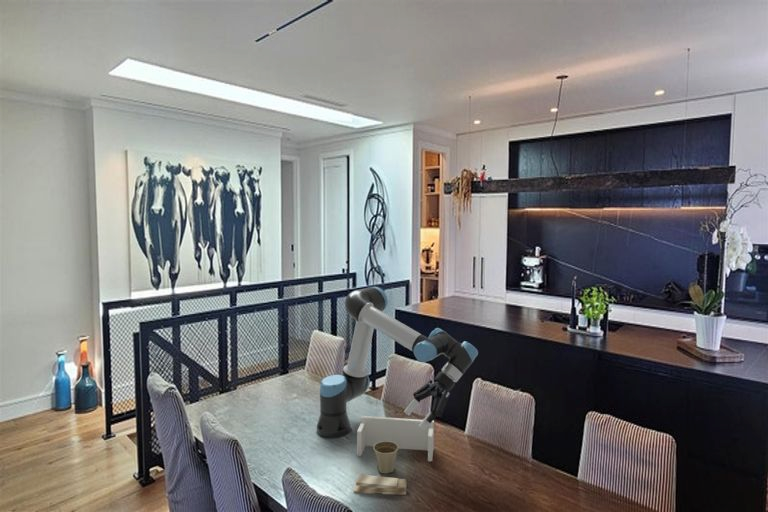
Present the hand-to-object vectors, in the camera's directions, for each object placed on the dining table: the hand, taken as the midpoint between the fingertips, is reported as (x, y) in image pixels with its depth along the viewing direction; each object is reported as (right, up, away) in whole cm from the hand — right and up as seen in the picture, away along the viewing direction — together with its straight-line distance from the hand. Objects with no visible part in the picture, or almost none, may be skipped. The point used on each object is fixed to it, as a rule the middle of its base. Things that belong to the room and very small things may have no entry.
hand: (413, 420), depth 170 cm
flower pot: (-10, -17, -3) cm, 21 cm away
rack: (-7, -16, +10) cm, 20 cm away
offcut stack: (-12, -19, -15) cm, 27 cm away
